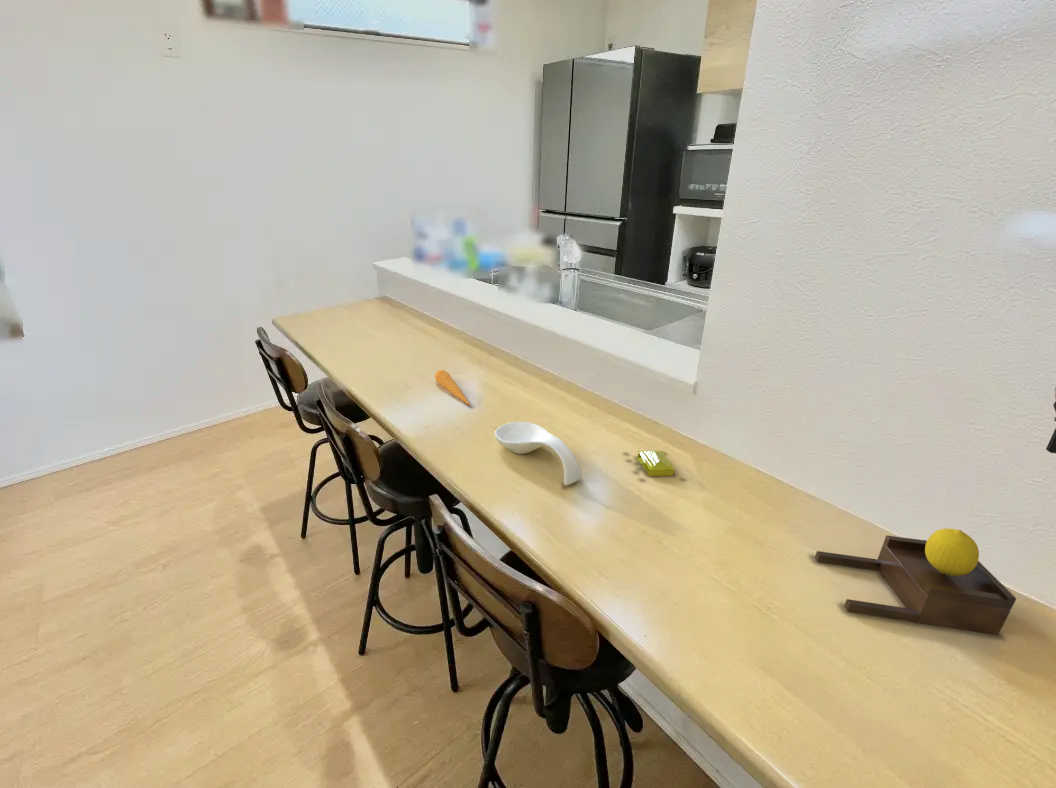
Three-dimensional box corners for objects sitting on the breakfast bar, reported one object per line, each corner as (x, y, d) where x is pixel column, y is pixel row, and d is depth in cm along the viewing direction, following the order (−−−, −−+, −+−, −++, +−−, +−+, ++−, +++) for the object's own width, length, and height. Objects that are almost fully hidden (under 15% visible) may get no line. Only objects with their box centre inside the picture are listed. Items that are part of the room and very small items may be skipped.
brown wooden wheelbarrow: (945, 575, 81) (959, 541, 78) (998, 635, 70) (1016, 598, 68) (814, 557, 85) (824, 524, 82) (847, 611, 74) (859, 575, 72)
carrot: (435, 382, 154) (430, 372, 151) (447, 375, 155) (443, 364, 152) (466, 415, 138) (461, 404, 135) (479, 407, 139) (475, 396, 136)
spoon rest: (485, 443, 120) (485, 417, 117) (521, 428, 126) (522, 403, 123) (555, 493, 101) (557, 464, 99) (593, 474, 107) (596, 445, 105)
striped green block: (683, 479, 105) (685, 468, 104) (640, 480, 105) (642, 468, 104) (664, 453, 115) (666, 442, 114) (625, 454, 115) (626, 443, 114)
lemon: (909, 564, 77) (925, 522, 74) (933, 555, 78) (950, 514, 75) (952, 592, 72) (971, 548, 69) (977, 582, 73) (996, 539, 70)
